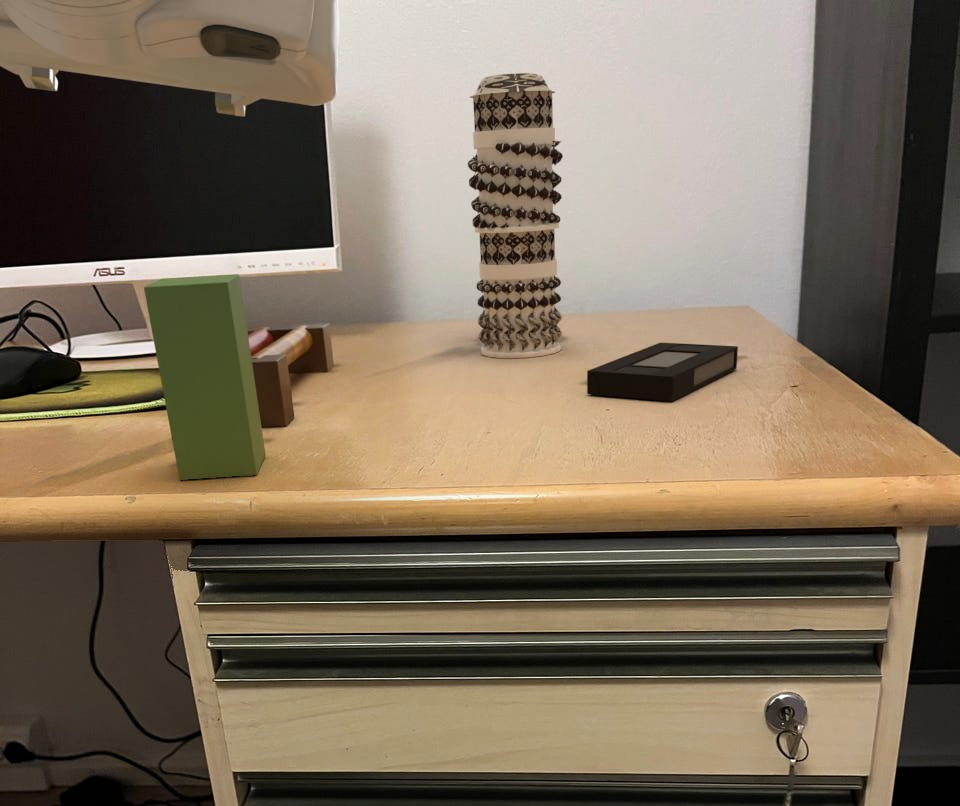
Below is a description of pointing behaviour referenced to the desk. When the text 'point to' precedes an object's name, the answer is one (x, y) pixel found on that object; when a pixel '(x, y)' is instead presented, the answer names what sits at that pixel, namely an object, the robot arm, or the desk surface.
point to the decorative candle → (516, 215)
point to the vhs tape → (662, 371)
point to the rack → (285, 364)
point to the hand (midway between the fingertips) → (139, 87)
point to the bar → (207, 375)
